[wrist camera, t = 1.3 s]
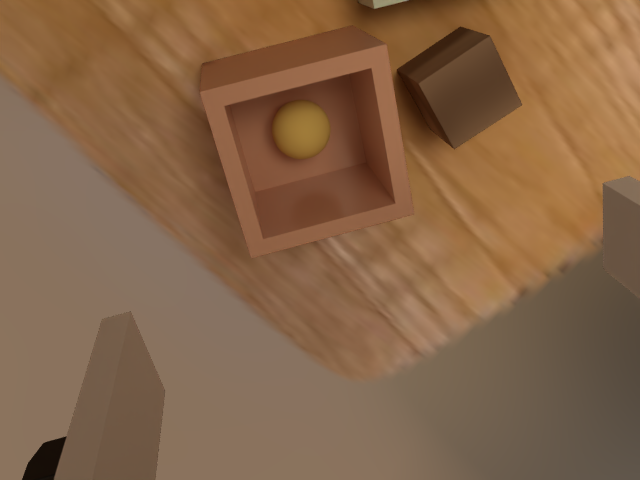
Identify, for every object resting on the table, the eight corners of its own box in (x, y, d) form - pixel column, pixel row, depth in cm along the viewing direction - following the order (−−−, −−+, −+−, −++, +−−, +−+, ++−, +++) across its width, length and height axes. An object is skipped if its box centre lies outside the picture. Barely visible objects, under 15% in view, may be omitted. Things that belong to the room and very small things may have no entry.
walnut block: (396, 69, 33) (418, 83, 30) (459, 26, 33) (490, 35, 29) (429, 128, 35) (454, 148, 31) (490, 88, 35) (522, 104, 31)
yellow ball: (263, 102, 32) (267, 116, 29) (318, 87, 32) (328, 100, 29) (277, 155, 33) (282, 173, 31) (330, 141, 33) (340, 158, 31)
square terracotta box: (202, 63, 31) (199, 91, 25) (352, 25, 32) (386, 43, 26) (244, 203, 35) (250, 258, 29) (378, 167, 35) (414, 214, 29)
